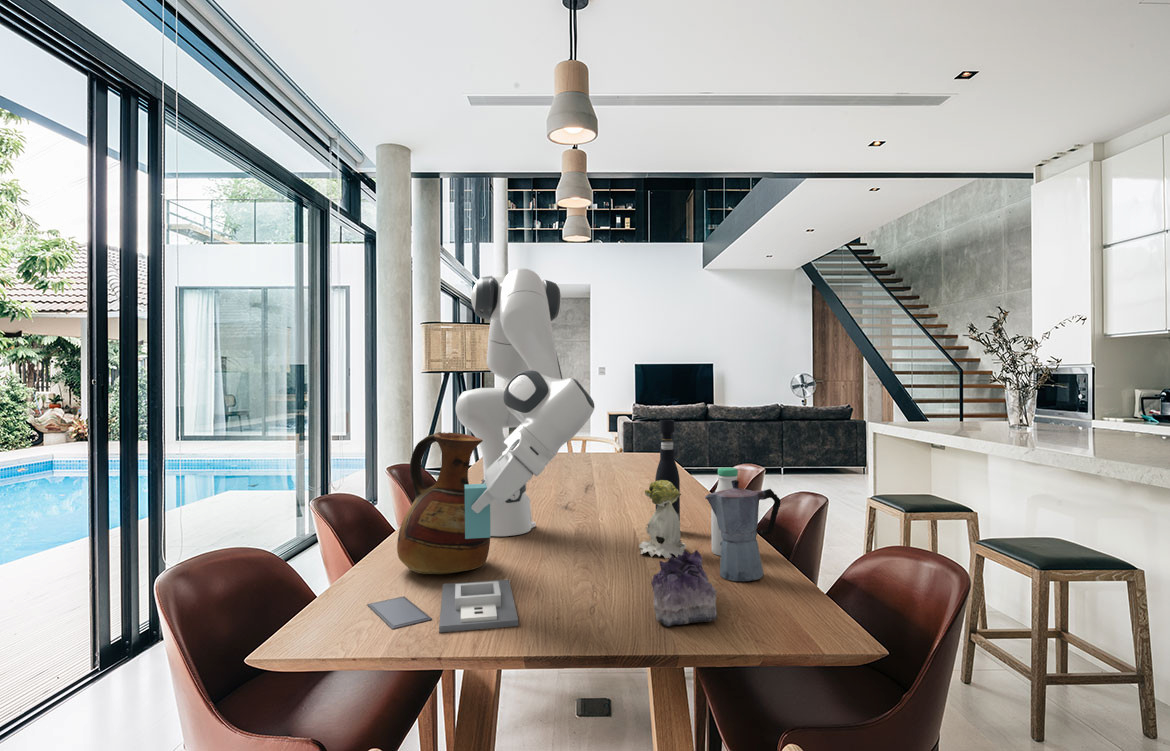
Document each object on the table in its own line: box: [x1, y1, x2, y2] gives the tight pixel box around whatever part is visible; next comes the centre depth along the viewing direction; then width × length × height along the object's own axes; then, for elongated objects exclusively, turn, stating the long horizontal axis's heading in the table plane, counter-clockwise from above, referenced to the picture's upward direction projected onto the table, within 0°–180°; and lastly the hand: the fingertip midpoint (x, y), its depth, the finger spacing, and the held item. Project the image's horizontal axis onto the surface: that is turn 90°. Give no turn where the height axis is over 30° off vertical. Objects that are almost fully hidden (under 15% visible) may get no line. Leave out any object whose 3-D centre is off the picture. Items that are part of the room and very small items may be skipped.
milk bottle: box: [710, 466, 739, 557], centre depth 150 cm, size 8×8×20 cm
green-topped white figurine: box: [638, 480, 688, 559], centre depth 152 cm, size 11×12×17 cm
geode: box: [650, 549, 718, 628], centre depth 115 cm, size 20×12×10 cm, turn 173°
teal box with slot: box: [465, 483, 491, 539], centre depth 117 cm, size 4×5×9 cm
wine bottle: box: [654, 419, 681, 522], centre depth 170 cm, size 6×6×30 cm
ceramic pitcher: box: [396, 431, 491, 575], centre depth 139 cm, size 20×20×30 cm
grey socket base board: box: [438, 578, 519, 633], centre depth 117 cm, size 22×13×3 cm, turn 11°
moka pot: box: [704, 480, 782, 582], centre depth 133 cm, size 10×15×20 cm, turn 88°
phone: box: [366, 595, 433, 630], centre depth 114 cm, size 7×14×1 cm, turn 35°
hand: (473, 506), depth 117 cm, fingers closed on teal box with slot, 4 cm apart
